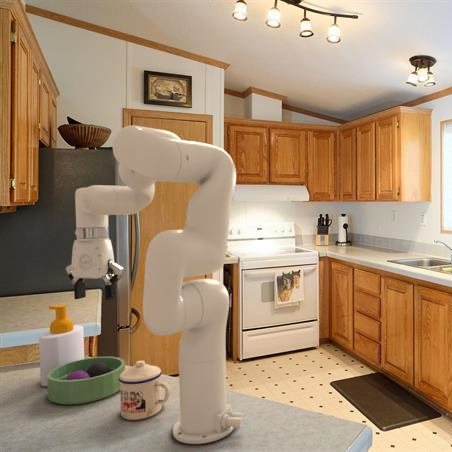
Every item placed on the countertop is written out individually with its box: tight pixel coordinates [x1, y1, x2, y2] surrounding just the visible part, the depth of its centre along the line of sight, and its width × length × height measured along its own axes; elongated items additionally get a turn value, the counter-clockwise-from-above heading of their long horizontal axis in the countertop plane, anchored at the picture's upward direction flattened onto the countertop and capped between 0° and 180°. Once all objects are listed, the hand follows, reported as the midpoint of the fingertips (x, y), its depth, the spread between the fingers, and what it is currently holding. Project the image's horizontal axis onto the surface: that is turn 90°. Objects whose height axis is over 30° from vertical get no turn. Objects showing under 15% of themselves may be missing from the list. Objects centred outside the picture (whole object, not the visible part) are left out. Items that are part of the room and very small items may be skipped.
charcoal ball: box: [86, 362, 110, 378], centre depth 115 cm, size 6×6×6 cm
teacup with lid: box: [119, 360, 171, 421], centre depth 99 cm, size 12×9×12 cm
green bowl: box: [46, 356, 126, 406], centre depth 111 cm, size 18×18×6 cm
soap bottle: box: [38, 304, 85, 387], centre depth 121 cm, size 13×8×20 cm, turn 169°
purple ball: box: [66, 371, 90, 380], centre depth 108 cm, size 6×6×6 cm
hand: (95, 298), depth 114 cm, fingers open, 9 cm apart
